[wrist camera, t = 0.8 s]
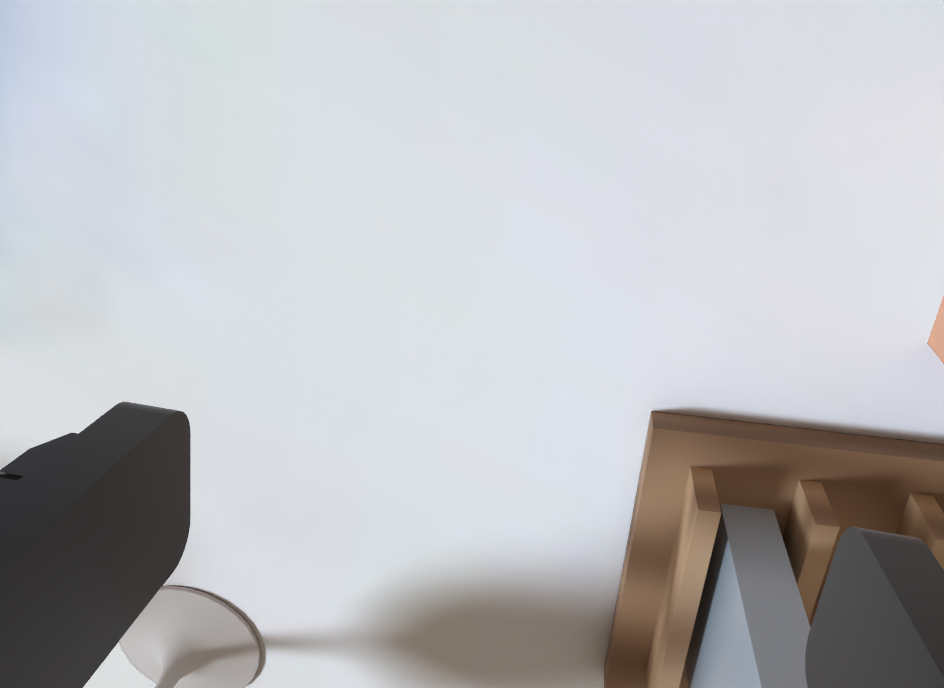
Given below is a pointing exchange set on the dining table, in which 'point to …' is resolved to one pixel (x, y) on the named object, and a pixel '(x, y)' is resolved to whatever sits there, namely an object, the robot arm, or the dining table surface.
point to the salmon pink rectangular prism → (938, 333)
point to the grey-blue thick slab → (748, 609)
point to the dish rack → (760, 486)
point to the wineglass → (191, 642)
